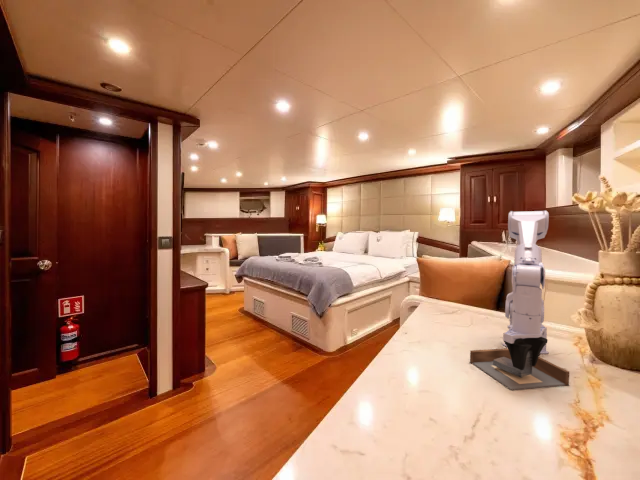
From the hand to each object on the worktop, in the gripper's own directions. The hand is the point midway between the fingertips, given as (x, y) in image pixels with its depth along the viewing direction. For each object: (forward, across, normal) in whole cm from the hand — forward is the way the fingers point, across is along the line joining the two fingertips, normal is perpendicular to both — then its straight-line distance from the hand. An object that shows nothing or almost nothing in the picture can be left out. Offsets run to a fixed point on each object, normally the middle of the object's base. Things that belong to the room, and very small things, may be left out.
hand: (524, 366), depth 69 cm
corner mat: (+4, -2, -3) cm, 5 cm away
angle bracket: (+2, 0, -3) cm, 4 cm away
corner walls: (+4, -2, -3) cm, 5 cm away
